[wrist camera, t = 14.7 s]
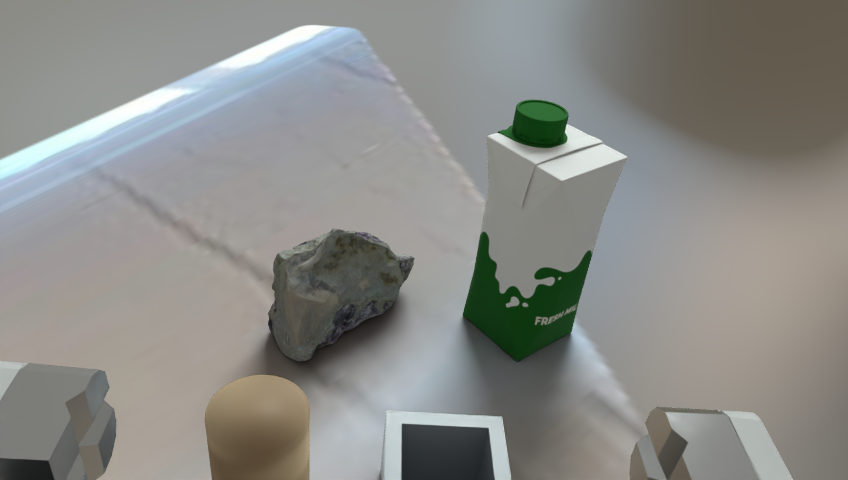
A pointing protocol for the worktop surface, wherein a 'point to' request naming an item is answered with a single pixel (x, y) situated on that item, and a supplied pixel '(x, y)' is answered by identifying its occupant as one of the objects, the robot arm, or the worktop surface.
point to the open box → (443, 447)
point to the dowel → (259, 430)
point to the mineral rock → (332, 289)
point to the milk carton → (538, 227)
